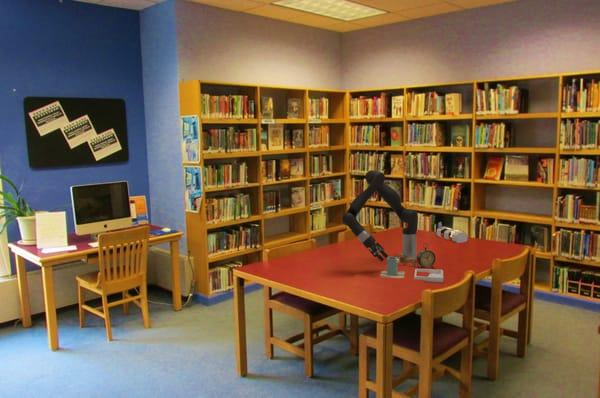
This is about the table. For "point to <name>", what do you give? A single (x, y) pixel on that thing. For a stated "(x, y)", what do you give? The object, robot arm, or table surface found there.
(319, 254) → the table surface
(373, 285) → the table surface
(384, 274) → the stake base
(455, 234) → the white black banded cylinder
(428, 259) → the alarm clock
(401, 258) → the lion figurine
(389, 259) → the blue grey tall block
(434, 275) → the tray
